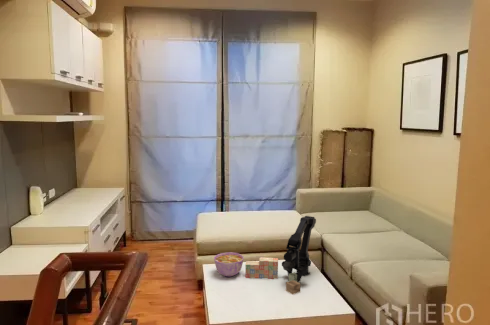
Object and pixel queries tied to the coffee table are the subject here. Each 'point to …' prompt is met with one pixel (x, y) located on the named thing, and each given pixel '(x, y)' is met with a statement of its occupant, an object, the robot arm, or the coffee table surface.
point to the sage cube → (293, 277)
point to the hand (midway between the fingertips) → (294, 280)
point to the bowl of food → (228, 263)
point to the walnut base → (292, 286)
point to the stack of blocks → (262, 268)
